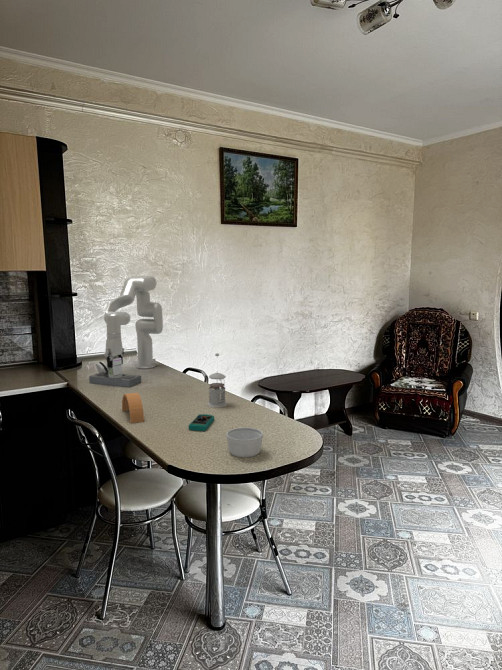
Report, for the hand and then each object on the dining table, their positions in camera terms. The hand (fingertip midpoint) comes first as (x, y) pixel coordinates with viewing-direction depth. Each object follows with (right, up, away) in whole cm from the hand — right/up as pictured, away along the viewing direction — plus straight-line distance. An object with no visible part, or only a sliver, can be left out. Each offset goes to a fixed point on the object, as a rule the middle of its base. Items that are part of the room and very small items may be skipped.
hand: (115, 365), depth 264 cm
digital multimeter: (+56, -21, -67) cm, 90 cm away
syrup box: (0, -10, +1) cm, 10 cm away
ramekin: (+74, -25, -95) cm, 123 cm away
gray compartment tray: (0, -10, +1) cm, 10 cm away
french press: (+61, -16, -37) cm, 73 cm away
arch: (+24, -19, -56) cm, 64 cm away
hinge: (-11, -8, +17) cm, 22 cm away
